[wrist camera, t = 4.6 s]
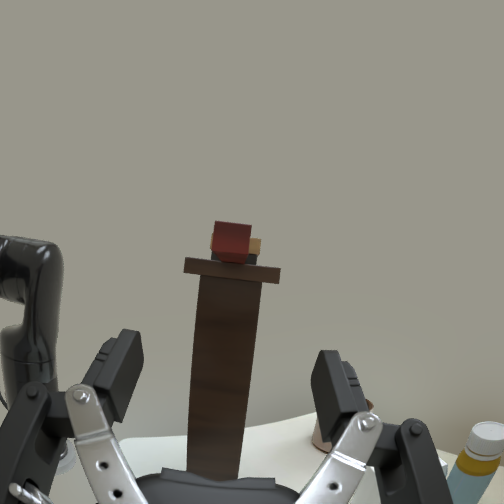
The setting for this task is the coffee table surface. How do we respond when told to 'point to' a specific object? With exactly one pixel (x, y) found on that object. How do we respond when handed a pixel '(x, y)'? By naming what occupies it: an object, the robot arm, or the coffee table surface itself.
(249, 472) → the coffee table surface
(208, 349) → the stand
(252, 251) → the brush
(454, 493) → the bottle
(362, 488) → the mug
